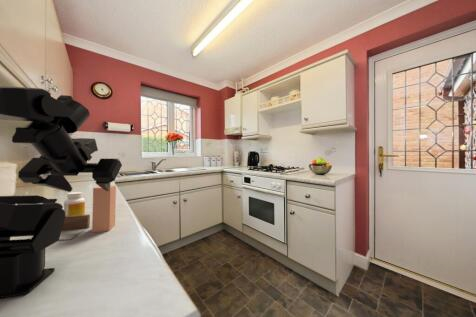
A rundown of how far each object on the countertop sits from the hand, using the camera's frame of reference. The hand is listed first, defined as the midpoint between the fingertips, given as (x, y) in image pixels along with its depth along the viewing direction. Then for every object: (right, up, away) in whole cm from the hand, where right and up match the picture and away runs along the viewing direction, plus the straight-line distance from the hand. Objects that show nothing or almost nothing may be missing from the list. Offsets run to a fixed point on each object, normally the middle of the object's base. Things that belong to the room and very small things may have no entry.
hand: (90, 190), depth 48 cm
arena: (-10, -13, +2) cm, 17 cm away
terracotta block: (-1, -13, +7) cm, 15 cm away
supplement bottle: (-17, -13, +14) cm, 25 cm away
